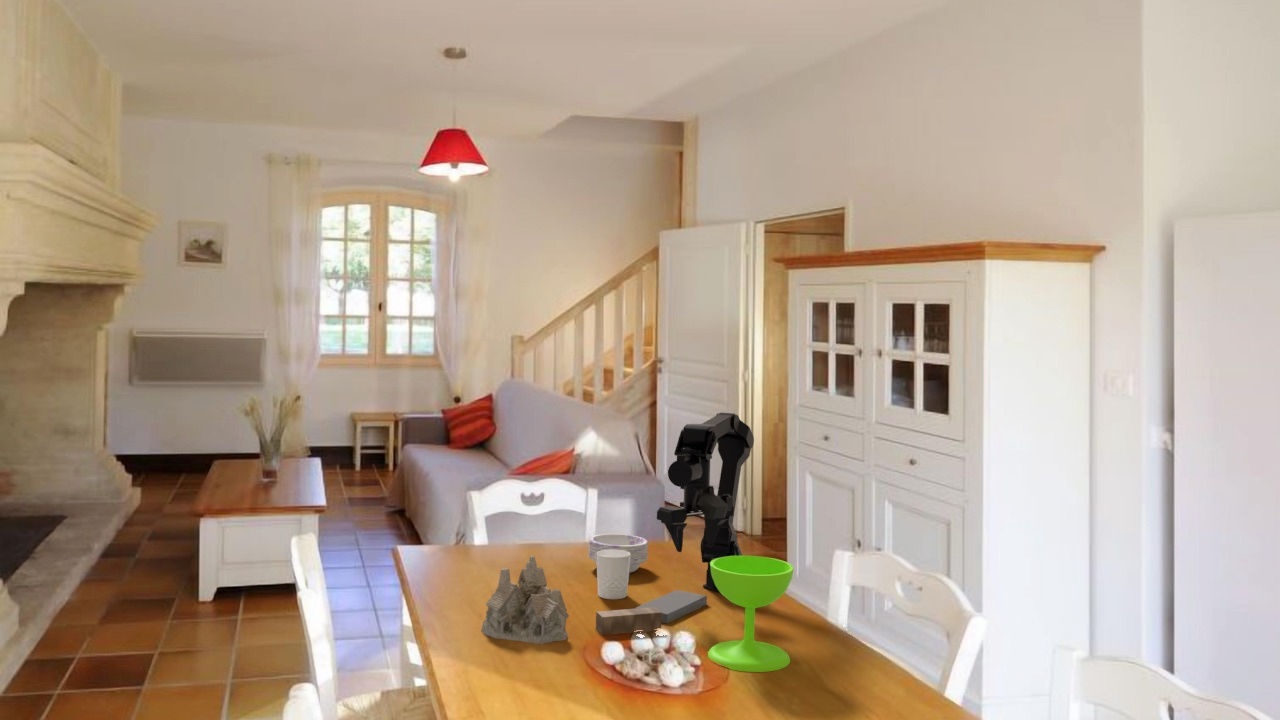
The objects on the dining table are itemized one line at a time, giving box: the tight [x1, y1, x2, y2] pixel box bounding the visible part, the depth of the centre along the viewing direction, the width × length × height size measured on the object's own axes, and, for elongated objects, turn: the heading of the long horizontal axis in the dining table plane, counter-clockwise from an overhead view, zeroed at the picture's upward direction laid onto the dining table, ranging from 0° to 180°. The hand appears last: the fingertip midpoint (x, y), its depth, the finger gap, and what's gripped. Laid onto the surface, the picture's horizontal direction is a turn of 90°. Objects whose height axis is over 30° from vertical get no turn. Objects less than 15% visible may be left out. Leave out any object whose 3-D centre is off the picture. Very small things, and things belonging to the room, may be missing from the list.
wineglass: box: [707, 554, 794, 673], centre depth 197 cm, size 16×16×18 cm
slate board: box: [634, 589, 708, 624], centre depth 227 cm, size 18×8×2 cm, turn 148°
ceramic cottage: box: [481, 555, 570, 644], centre depth 208 cm, size 16×16×15 cm
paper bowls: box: [588, 533, 649, 574], centre depth 263 cm, size 15×15×8 cm
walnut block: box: [595, 607, 662, 636], centre depth 213 cm, size 4×4×13 cm
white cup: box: [596, 549, 631, 600], centre depth 238 cm, size 8×8×10 cm
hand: (694, 549), depth 230 cm, fingers open, 9 cm apart
